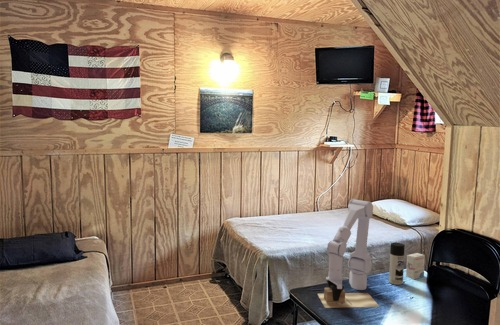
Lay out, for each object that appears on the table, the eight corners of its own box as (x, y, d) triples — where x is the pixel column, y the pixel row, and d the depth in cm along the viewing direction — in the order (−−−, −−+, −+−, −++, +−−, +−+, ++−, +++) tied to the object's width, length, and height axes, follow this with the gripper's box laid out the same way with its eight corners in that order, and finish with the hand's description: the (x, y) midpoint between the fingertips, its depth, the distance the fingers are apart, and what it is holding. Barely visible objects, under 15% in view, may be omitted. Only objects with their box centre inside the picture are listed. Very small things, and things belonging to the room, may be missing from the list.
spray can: (395, 286, 198) (397, 246, 196) (385, 281, 204) (387, 242, 202) (405, 284, 201) (408, 245, 199) (395, 279, 207) (397, 241, 205)
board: (316, 296, 184) (317, 293, 184) (367, 296, 186) (368, 292, 186) (324, 310, 170) (324, 307, 170) (379, 310, 172) (379, 306, 172)
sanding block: (323, 298, 179) (324, 287, 178) (341, 298, 179) (342, 287, 179) (326, 302, 174) (327, 291, 174) (344, 302, 175) (345, 291, 174)
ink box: (416, 273, 216) (417, 252, 214) (424, 276, 211) (425, 254, 210) (405, 276, 211) (406, 254, 210) (413, 279, 207) (414, 257, 206)
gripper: (322, 262, 182) (321, 291, 183) (331, 274, 168) (329, 305, 169) (337, 262, 183) (336, 291, 184) (347, 274, 168) (346, 305, 169)
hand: (334, 298), depth 176 cm, fingers closed on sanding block, 4 cm apart
